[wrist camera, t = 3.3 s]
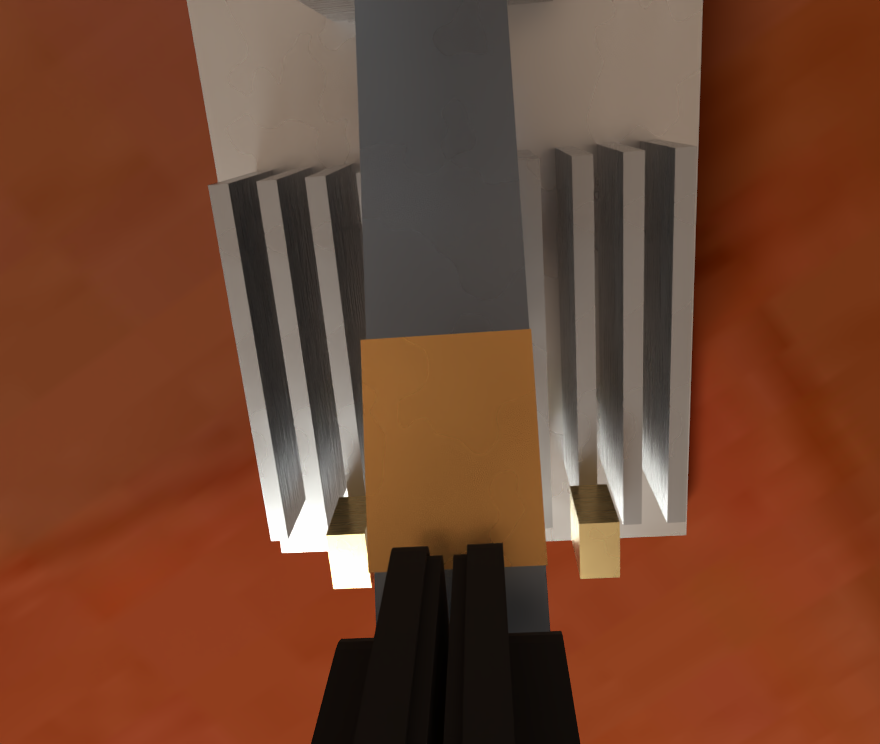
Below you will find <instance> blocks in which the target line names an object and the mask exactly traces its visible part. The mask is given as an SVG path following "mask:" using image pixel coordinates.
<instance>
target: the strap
mask: <svg viewBox="0 0 880 744" xmlns="http://www.w3.org/2000/svg"><path fill="white" fill-rule="evenodd" d="M354 2H355V30H356V59H357V88H358V117H359V145H360V174H361V203H362V232H363V260H364V289H365V318H366V340H361V369H362V398H363V428H364V458H365V488H366V518H367V547H368V573H374V577H375V606H376V625H377V620H378V615H379V610H380V605H381V600H382V595H383V589H384V584H385V579H386V574H387V569H388V564H389V559H390V553H391V550H392V548H394V547H417V546H428V547H429V551H430V556H433V555H442V556H443V560H444V570H445V581H446V592H447V603H448V614H449V625H450V608H451V589H452V571H453V555H456V554H467V544H484V543H503V552H504V569H505V585H506V602H507V618H508V633H522V632H550V622H549V608H548V593H547V578H546V565H547V551H546V536H545V522H544V507H543V493H542V478H541V464H540V449H539V435H538V420H537V406H536V391H535V377H534V362H533V348H532V333H531V329H529V316H528V302H527V287H526V273H525V258H524V243H523V229H522V214H521V200H520V185H519V171H518V156H517V141H516V127H515V112H514V98H513V83H512V69H511V54H510V39H509V25H508V10H507V0H354Z"/></svg>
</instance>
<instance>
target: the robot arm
mask: <svg viewBox="0 0 880 744" xmlns="http://www.w3.org/2000/svg"><path fill="white" fill-rule="evenodd" d="M311 744H580V739H579V733H578V727H577V721H576V715H575V709H574V702H573V696H572V690H571V684H570V678H569V672H568V665H567V659H566V653H565V647H564V641H563V636H562V632H561V631H550V632H522V633H508V618H507V602H506V585H505V569H504V552H503V543H484V544H467V554H456V555H453V571H452V589H451V608H450V625H449V614H448V603H447V592H446V581H445V570H444V560H443V556H442V555H433V556H430V551H429V547H428V546H417V547H394V548H392V550H391V553H390V559H389V564H388V569H387V574H386V579H385V584H384V589H383V595H382V600H381V605H380V610H379V615H378V620H377V625H376V630H375V636H374V638H354V639H341V640H340V641H339V642H338V645H337V647H336V650H335V654H334V658H333V662H332V666H331V670H330V673H329V677H328V681H327V685H326V689H325V693H324V696H323V700H322V704H321V708H320V712H319V716H318V719H317V723H316V727H315V731H314V735H313V738H312V742H311Z"/></svg>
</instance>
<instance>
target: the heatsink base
mask: <svg viewBox="0 0 880 744" xmlns="http://www.w3.org/2000/svg"><path fill="white" fill-rule="evenodd" d="M187 5H188V10H189V16H190V22H191V28H192V34H193V39H194V45H195V51H196V57H197V63H198V68H199V74H200V80H201V86H202V91H203V97H204V103H205V109H206V115H207V120H208V126H209V132H210V138H211V143H212V149H213V155H214V161H215V167H216V172H217V178H218V183H214V184H211V185H208V188H209V193H210V199H211V205H212V210H213V216H214V222H215V227H216V233H217V238H218V244H219V250H220V255H221V261H222V267H223V272H224V278H225V284H226V289H227V295H228V300H229V306H230V312H231V317H232V323H233V329H234V334H235V340H236V346H237V351H238V357H239V362H240V368H241V374H242V379H243V385H244V391H245V396H246V402H247V408H248V413H249V419H250V424H251V430H252V436H253V441H254V447H255V453H256V458H257V464H258V469H259V475H260V481H261V486H262V492H263V498H264V503H265V509H266V515H267V520H268V526H269V531H270V537H271V541H280V543H281V548H282V553H290V552H313V551H328V554H329V561H330V567H331V574H332V581H333V587H334V589H341V588H365V587H372V583H373V578H374V573H368V547H367V518H366V488H365V458H364V428H363V398H362V369H361V340H366V318H365V289H364V260H363V232H362V203H361V174H360V145H359V117H358V88H357V59H356V30H355V2H354V0H187ZM507 10H508V25H509V39H510V54H511V69H512V83H513V98H514V112H515V127H516V141H517V156H518V171H519V185H520V200H521V214H522V229H523V243H524V258H525V273H526V287H527V302H528V316H529V329H531V333H532V348H533V362H534V377H535V391H536V406H537V420H538V435H539V449H540V464H541V478H542V493H543V507H544V522H545V536H546V541H562V540H572V543H573V548H574V552H575V557H576V561H577V566H578V570H579V575H580V579H587V578H612V577H620V538H629V537H652V536H675V535H686V523H687V491H688V459H689V428H690V396H691V364H692V332H693V301H694V269H695V237H696V205H697V174H698V142H699V110H700V79H701V47H702V15H703V0H507Z"/></svg>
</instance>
